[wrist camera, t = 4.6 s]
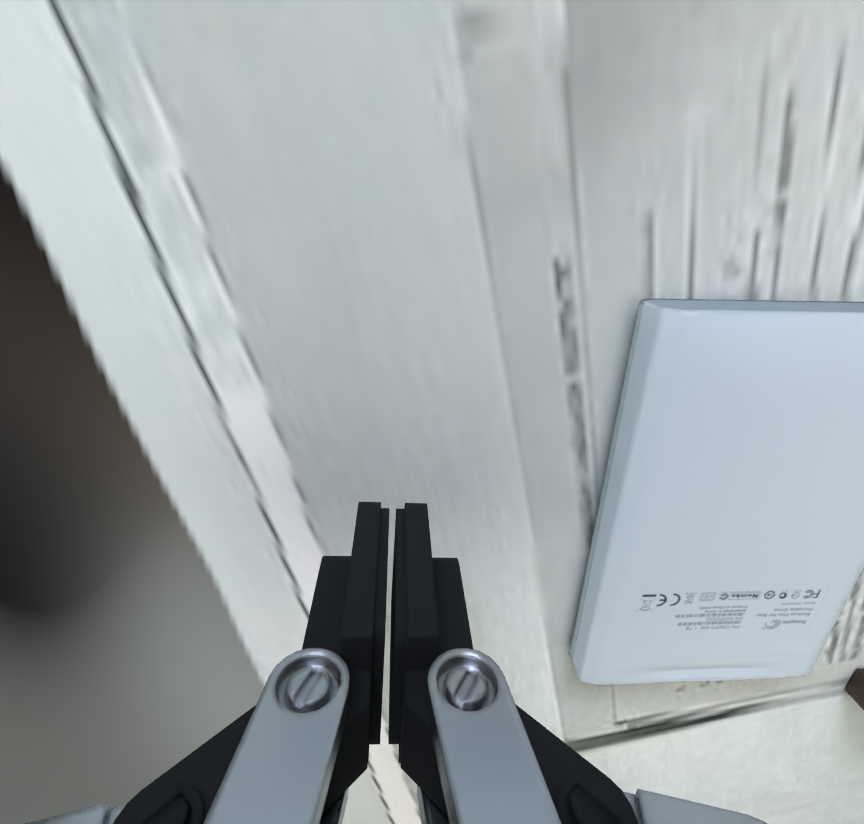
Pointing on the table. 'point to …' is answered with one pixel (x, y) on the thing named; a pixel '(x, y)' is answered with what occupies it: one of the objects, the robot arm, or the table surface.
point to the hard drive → (727, 494)
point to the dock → (857, 687)
